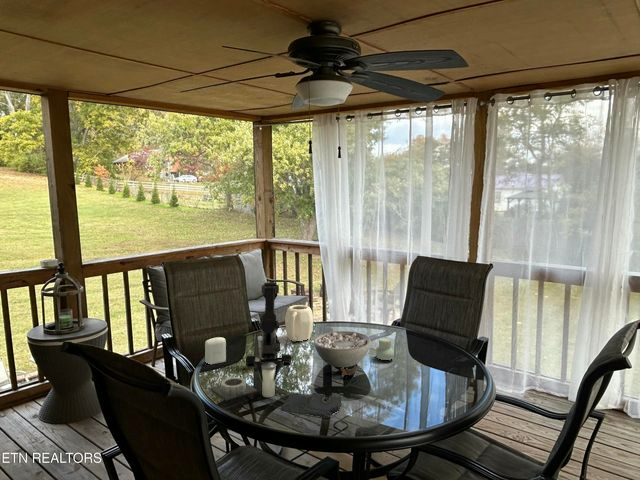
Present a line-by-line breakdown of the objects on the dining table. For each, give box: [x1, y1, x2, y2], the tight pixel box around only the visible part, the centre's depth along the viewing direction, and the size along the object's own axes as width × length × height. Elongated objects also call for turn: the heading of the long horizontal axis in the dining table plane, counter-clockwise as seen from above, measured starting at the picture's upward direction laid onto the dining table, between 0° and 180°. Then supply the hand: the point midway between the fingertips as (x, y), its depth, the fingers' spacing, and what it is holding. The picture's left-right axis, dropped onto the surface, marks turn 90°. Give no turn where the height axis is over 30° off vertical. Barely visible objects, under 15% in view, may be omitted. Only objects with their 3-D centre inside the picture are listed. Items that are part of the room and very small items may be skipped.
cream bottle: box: [261, 362, 276, 398], centre depth 181 cm, size 6×6×12 cm
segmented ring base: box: [210, 376, 258, 402], centre depth 185 cm, size 14×14×4 cm
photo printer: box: [204, 336, 227, 365], centre depth 216 cm, size 10×4×12 cm, turn 123°
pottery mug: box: [340, 363, 358, 376], centre depth 203 cm, size 12×10×8 cm
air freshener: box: [375, 337, 395, 361], centre depth 223 cm, size 11×8×10 cm
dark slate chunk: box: [281, 391, 343, 417], centre depth 171 cm, size 15×22×5 cm
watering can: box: [284, 301, 314, 342], centre depth 254 cm, size 16×27×19 cm, turn 163°
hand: (268, 380), depth 179 cm, fingers closed on cream bottle, 5 cm apart
